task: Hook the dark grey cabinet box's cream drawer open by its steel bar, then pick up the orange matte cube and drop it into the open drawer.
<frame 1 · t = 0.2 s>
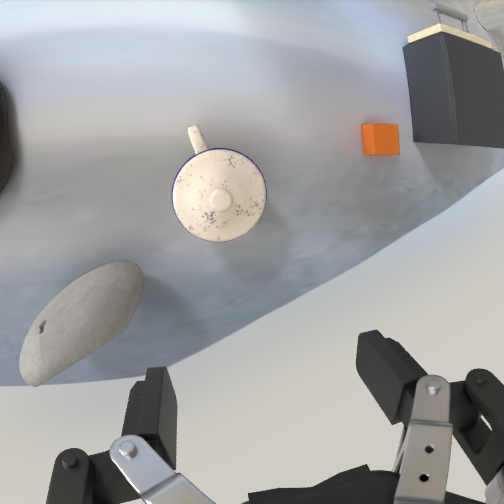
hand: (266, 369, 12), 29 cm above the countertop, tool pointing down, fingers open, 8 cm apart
chrome metal cylinder: (483, 17, 34), on the countertop
planter: (100, 285, 40), on the countertop
teacup with lid: (211, 175, 38), on the countertop
dark grey cabinet box: (440, 97, 38), on the countertop
orange matte cube: (375, 139, 39), on the countertop
dispenser drawer: (456, 64, 32), point 5 cm above the countertop, slide at 0.5 cm
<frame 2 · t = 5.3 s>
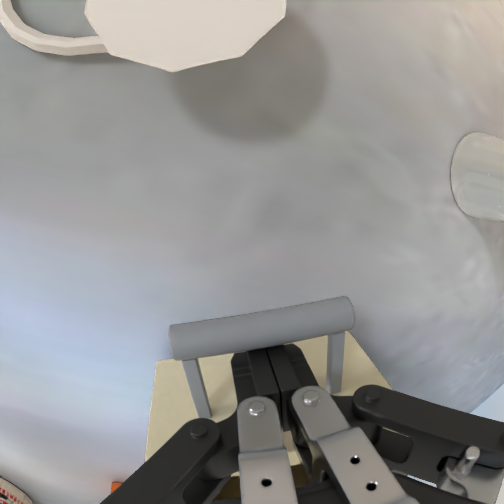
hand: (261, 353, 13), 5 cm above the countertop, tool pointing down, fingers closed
chrome metal cylinder: (475, 174, 18), on the countertop
dispenser drawer: (272, 442, 16), point 5 cm above the countertop, slide at 1.9 cm, touching gripper
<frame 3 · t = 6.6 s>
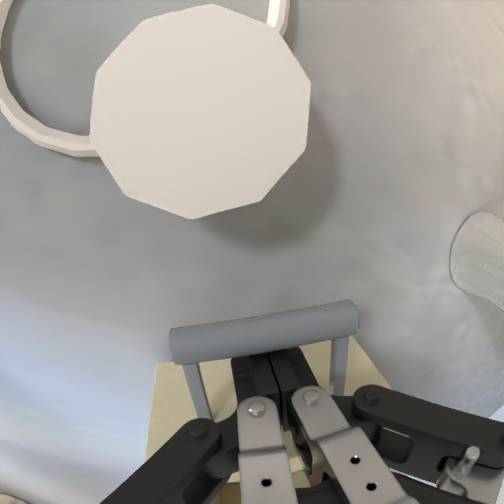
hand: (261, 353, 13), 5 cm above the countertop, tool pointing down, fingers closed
chrome metal cylinder: (474, 250, 20), on the countertop
hand towel holder: (139, 26, 12), on the countertop
teacup with lid: (18, 503, 23), on the countertop
dispenser drawer: (273, 446, 15), point 5 cm above the countertop, slide at 7.4 cm, touching gripper
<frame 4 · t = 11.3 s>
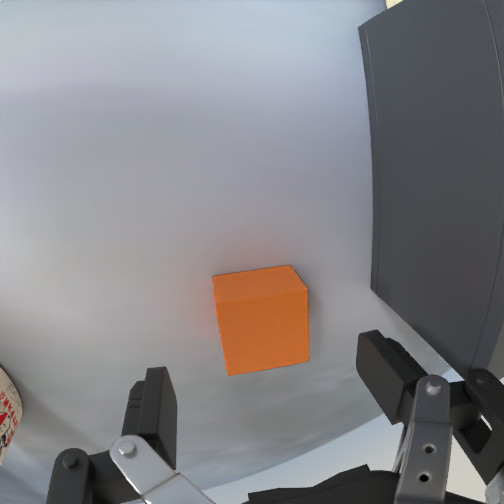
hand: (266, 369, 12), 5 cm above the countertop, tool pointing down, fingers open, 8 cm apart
dark grey cabinet box: (455, 159, 16), on the countertop
orange matte cube: (255, 304, 17), on the countertop
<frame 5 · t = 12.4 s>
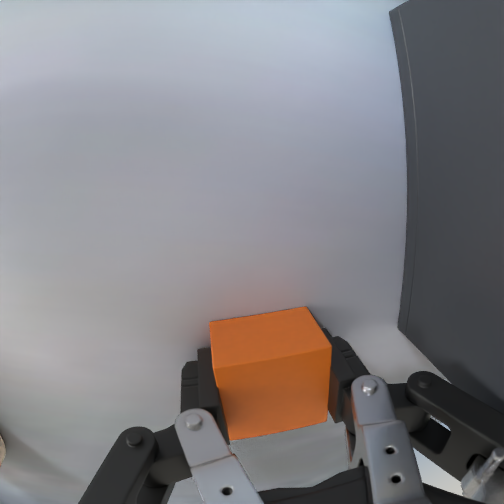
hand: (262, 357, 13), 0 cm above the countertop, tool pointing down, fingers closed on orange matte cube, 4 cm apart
dark grey cabinet box: (495, 174, 13), on the countertop
orange matte cube: (262, 353, 13), on the countertop, touching gripper
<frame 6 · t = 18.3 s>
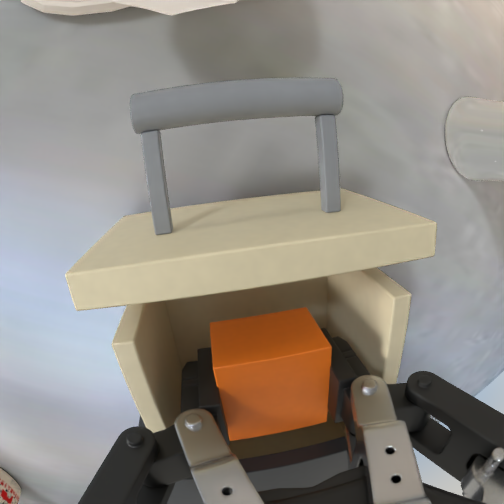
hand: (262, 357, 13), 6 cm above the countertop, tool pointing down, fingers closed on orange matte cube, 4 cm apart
chrome metal cylinder: (470, 138, 18), on the countertop
dark grey cabinet box: (259, 416, 22), on the countertop
orange matte cube: (262, 353, 13), point 5 cm above the countertop, touching gripper
dispenser drawer: (256, 315, 14), point 5 cm above the countertop, slide at 7.5 cm
when the fingers open (8 cm above the countertop, at t = 29.1 s): orange matte cube drops 6 cm, resting on dispenser drawer.
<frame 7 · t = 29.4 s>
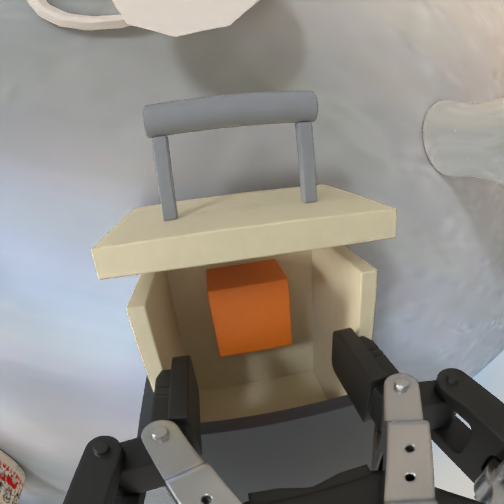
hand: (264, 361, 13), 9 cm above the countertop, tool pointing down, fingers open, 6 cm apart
chrome metal cylinder: (448, 138, 20), on the countertop
dark grey cabinet box: (254, 395, 24), on the countertop
orange matte cube: (244, 295, 19), point 2 cm above the countertop, touching dispenser drawer
dispenser drawer: (248, 291, 16), point 5 cm above the countertop, slide at 7.5 cm, touching orange matte cube
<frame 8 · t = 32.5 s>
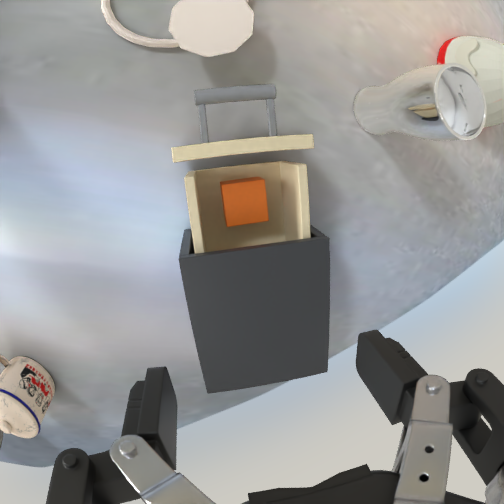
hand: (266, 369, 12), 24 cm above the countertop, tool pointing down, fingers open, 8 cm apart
chrome metal cylinder: (374, 110, 33), on the countertop
kitchen timer: (468, 81, 34), on the countertop
teacup with lid: (26, 369, 37), on the countertop
dark grey cabinet box: (248, 283, 38), on the countertop
orange matte cube: (241, 198, 32), point 2 cm above the countertop, touching dispenser drawer
dispenser drawer: (243, 186, 29), point 5 cm above the countertop, slide at 7.5 cm, touching orange matte cube
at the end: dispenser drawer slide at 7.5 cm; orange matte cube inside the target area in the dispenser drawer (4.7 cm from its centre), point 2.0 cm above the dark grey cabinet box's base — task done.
